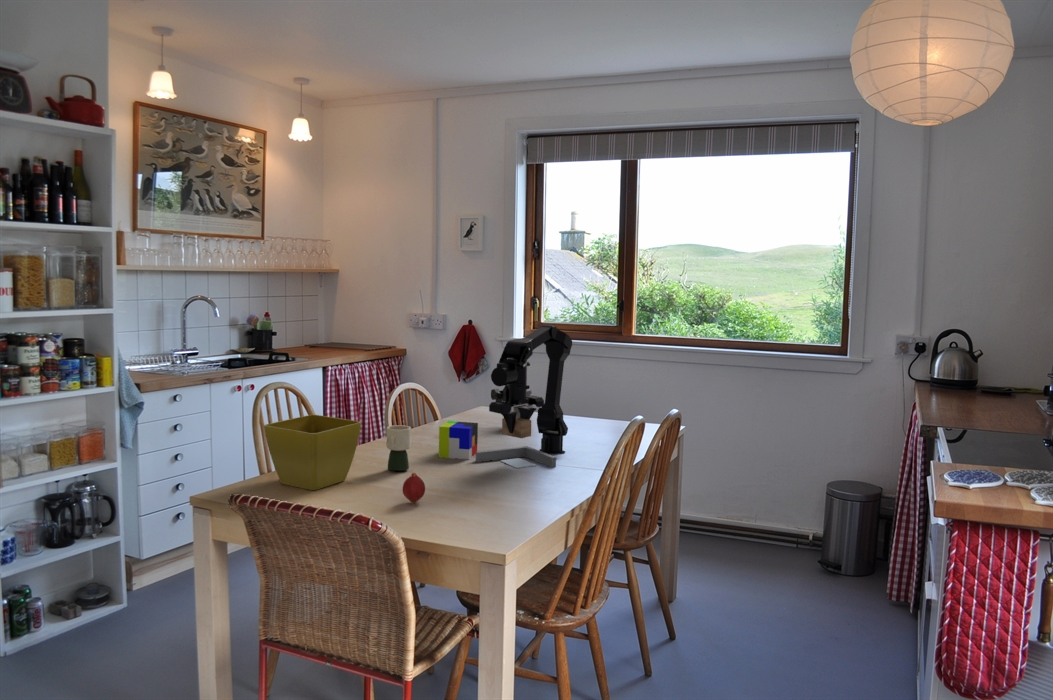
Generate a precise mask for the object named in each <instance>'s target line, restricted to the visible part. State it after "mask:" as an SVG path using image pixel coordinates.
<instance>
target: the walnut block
mask: <svg viewBox="0 0 1053 700" xmlns="http://www.w3.org/2000/svg"><path fill="white" fill-rule="evenodd" d="M501 421H502V422H501V429H502V430H501V434H502V435H504V436H507V437H508V436H510V437H512V438H513V437H514V438H518V439H525V438H528V437H532V420H531V419H530V420H529V419H523V418H518V417H516V420H515V425H514V430H513V433H509V430H508V427H507V424H506V421H505V419H504V417H503V418H502V419H501Z"/></svg>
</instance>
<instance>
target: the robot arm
mask: <svg viewBox="0 0 1053 700" xmlns="http://www.w3.org/2000/svg"><path fill="white" fill-rule="evenodd" d="M543 344H544V345H545V353H546V355H547V357H548V359H549V362H548V363H549V364H548V370H547V380H546V389H545V390H546V391H545V398H543V397H541V396H538V395H532V394H531V395H530V396H526V394H527V389H530V385H528V384H527V381H528V379H527V378H528V375H527V374H528V373H527V372H528V367H530V366H531V363H530V362H529V361H528V360H529V359H530V357H531V356H533V354H534V350H535V349H537V348H539V347H540V346H541V345H543ZM572 347H573V340H572V338H571V337H570V335H569V334H567V332H564V331H562V330H561V329H558V328H557V326H555V325H552V324H551V325H550V324H542V325H540V326H539V327H538V328H537V329H535V330H533V331H532V332H530V333H529V334H528V335H526V336H524V337H522V338H514V339H511V340H509V341H507V342H506V344H505V346H504V348H503V351H502V353H501V355H500V358H499V361H498V363H496V367H495V368H494V369H492V371H491V374H490V380H491V382H492V383H493V384H494V385H495V386H496V387H505V389H504V388H503V389H504V390H503V389H502V390H500V389H499V388H493V389H491V390H490V398H491V400H493V401H491V402H490V403H489V405H488V410H489V411H488V412H491V413H494V414H500V415H501V416H502V417H503V418H504V419H505V421H506V424H507V427H508V430H509V433H513V430H514V425H515V420H516V415H517V413H516V412H514V408H518V410H519V412H520V418H523V419H529V420H531V418H532V417H533V414H534V413H535V411H537V416H536V427H537V431H538V432H537V433H538V434H542V436H541V441H540V448H539V449H538V451H541V452H544V453H546V454H549V455H555V454H557V455H558V454H565V453H566V450H563V449H564V448H563V447H564V446H563V445H564V437H566V436H567V434H568V431H569V427H568V425H567V423H566V422H565V420H564V411H563V409H562V407H561V405H560V402H561V394H562V384H563V374H564V368H565V367H564V366H565V362H566V360H567V358H568V357H569V356H570V354H571V351H572ZM494 400H495V401H494ZM507 402H508V403H507ZM534 405H535V407H534ZM537 408H538V409H537Z"/></svg>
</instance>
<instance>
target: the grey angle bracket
mask: <svg viewBox="0 0 1053 700" xmlns="http://www.w3.org/2000/svg"><path fill="white" fill-rule="evenodd" d="M525 456H526V458H527V459H531V460H533V461H536V462H538V463H541V464H542V465H545V466H547V467H550V468H555V467H557V456H554V455H552V454H547V453H544V452H542V451H539V449H536V448H533V447H531V446H528V445H525V446H516V447H508V448H499V449H490V450H489V449H488V450H482V451H477V452H476V454H475V462H476V463H481V462H482V461H484V462H490V460H492V461H499V460H498V459H501V460H508V458H509V459H516V458H524V457H525Z"/></svg>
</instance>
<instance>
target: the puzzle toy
mask: <svg viewBox="0 0 1053 700" xmlns="http://www.w3.org/2000/svg"><path fill="white" fill-rule="evenodd" d="M478 433H479V423H478V422H470V421H469V422H468V421H457V420H456V421H454V420H453V421H452V420H448V421H446V422H444V423H443V424H442V425H440V426H439V428H438V458H442V457H445V458H446V459H455V458H458V459H457V460H468V459H469V460H470V459H472V458H473V457H475V456H476V452H478V436H479V435H478ZM472 456H473V457H472ZM445 458H444V459H445Z"/></svg>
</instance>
